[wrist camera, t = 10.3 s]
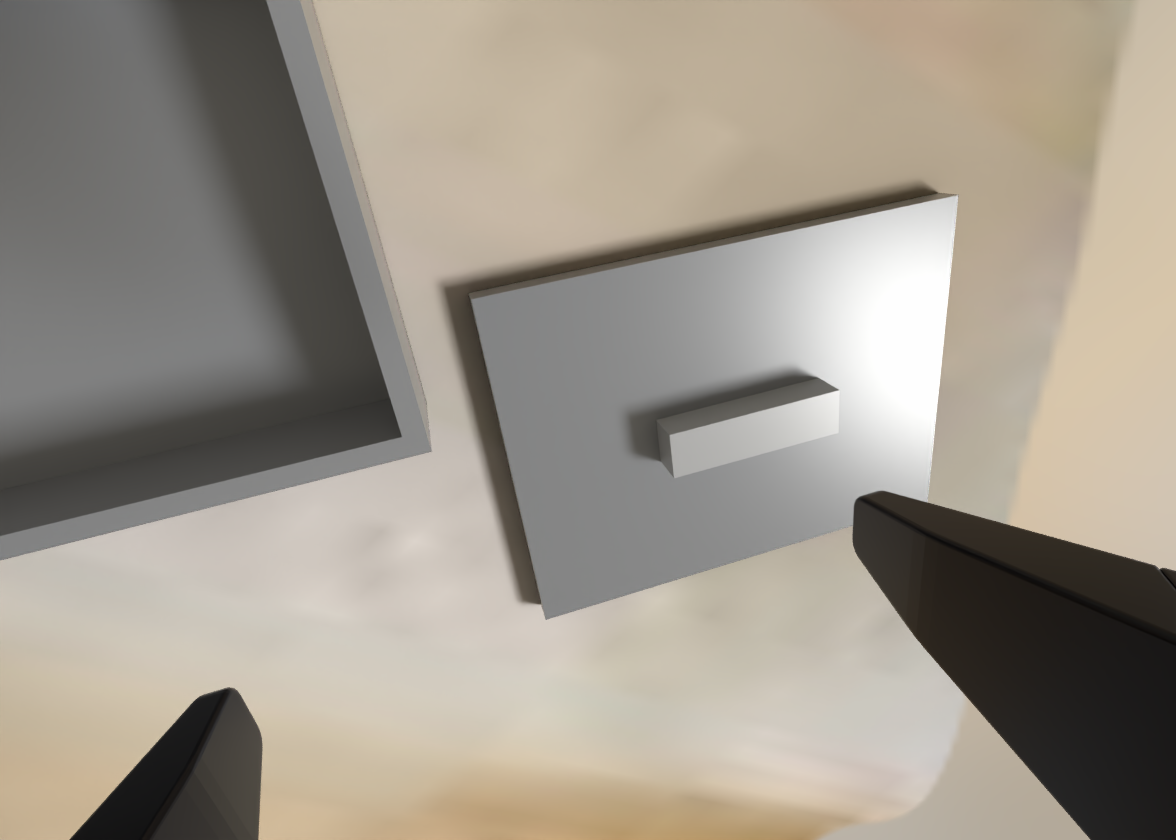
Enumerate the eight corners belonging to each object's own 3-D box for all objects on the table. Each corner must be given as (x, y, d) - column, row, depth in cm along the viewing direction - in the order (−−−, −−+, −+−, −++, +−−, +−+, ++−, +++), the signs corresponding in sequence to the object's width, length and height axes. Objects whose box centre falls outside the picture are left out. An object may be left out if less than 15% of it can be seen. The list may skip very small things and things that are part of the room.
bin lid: (541, 605, 24) (552, 642, 22) (468, 292, 19) (475, 309, 17) (913, 493, 27) (949, 518, 25) (940, 192, 22) (988, 198, 20)
